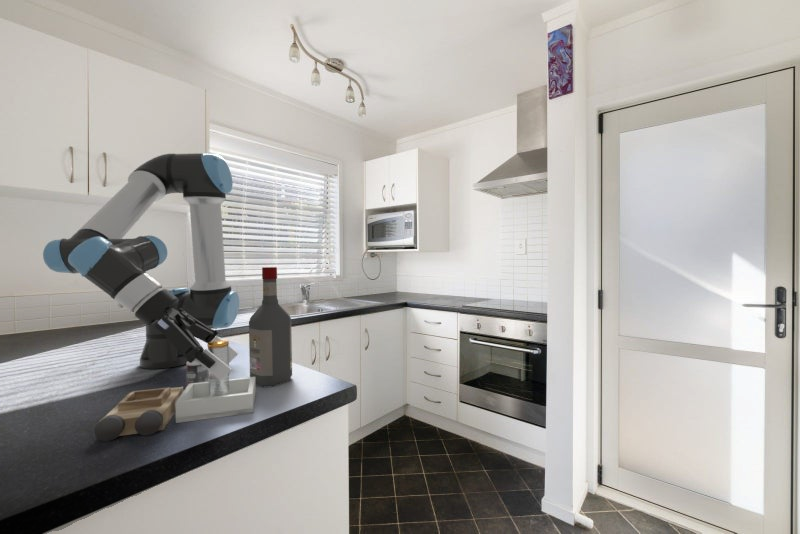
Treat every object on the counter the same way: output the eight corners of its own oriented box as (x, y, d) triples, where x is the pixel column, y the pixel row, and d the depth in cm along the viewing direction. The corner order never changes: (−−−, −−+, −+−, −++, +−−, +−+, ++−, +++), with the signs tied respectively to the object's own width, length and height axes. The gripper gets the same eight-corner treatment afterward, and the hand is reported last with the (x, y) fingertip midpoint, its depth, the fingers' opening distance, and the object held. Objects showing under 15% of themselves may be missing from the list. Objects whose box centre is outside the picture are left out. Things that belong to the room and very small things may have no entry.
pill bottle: (182, 386, 92) (181, 354, 92) (200, 381, 97) (199, 349, 97) (194, 389, 90) (193, 356, 90) (211, 384, 94) (211, 351, 94)
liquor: (265, 389, 90) (263, 267, 90) (246, 382, 96) (243, 267, 95) (296, 379, 97) (294, 266, 97) (276, 373, 103) (274, 267, 102)
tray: (189, 401, 83) (189, 383, 83) (255, 393, 87) (255, 376, 87) (175, 423, 71) (175, 402, 71) (252, 412, 76) (252, 393, 76)
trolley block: (131, 405, 80) (131, 385, 80) (183, 399, 84) (183, 380, 84) (94, 442, 64) (93, 417, 64) (160, 433, 67) (160, 409, 67)
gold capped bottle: (210, 399, 81) (209, 341, 80) (230, 397, 82) (229, 339, 82) (207, 406, 77) (205, 345, 77) (228, 404, 78) (227, 343, 78)
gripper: (153, 307, 86) (224, 364, 91) (107, 323, 62) (207, 399, 67) (178, 283, 88) (247, 341, 93) (143, 291, 64) (238, 367, 69)
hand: (230, 365), depth 80 cm, fingers open, 13 cm apart
